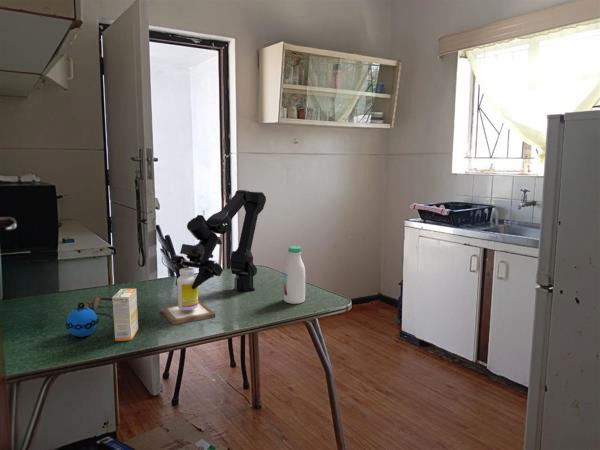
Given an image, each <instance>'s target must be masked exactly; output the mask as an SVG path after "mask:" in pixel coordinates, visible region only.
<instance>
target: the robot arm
mask: <svg viewBox="0 0 600 450" xmlns="http://www.w3.org/2000/svg"><path fill="white" fill-rule="evenodd" d="M266 202H267V197H266V195H265V194H264V192H262V191H249V190H247V189H245V190H243V189H238V190H236V191H235V193H234V195H233V196H232V197H231V198H230V199H229V201H228V202H227V203H226V204H225V205H224V207H222V209H221V210H219V211H218V212H216V213H213V214H212V215H211V216H209V217H208V218H207V219H205V217H204V215H203V214H197V216H196V217H194V218H192V219H190V220H189V221H188V222H187V224H186V229H187V230H188V231H189V232H190V234H191V235H192V236H193V237H194V238H195V239H196V240H197V241H199V242H198V243H196V244H194V245H193V244H185V243H183V244H181V248H180V251H179V254H181V255H176V254H174V255H172V256H171V258H170V259H169V262H170V263H171V264H172V265H173V266H174V267H175V268H176V276H175V277H176V279H175V286H176V287H177V279H178V278H179V277H180V273H179V270H180V269H182V268H193V269H198V273H197V275H196V276H195V277H196V279H195V281H194V283H193V285H192V289H195V288H197V287H198V288H199V286H201V285H202V284H203V283H205V282H206V281H208V280H210V279H211V278H214V277H221V276H222V273H223V268H222V266H221V265H220V264H219V263H218V262H217V260H211V259H213V258H214V254H213V253H214V250H215V248H216V246H217V245H219V246H221V245H222V240H221V239H222V238H221V236H218V235H217V234H219V235H225V234H227V232H228V231H229V230H230V227H231V226H232V220H233V218H234V217H235V215H236V214H237V213H238V212H239V211H240V210H241V209H242V207H243V209H244V212H245V213H244V218H243V223H242V228H241V233H240V238H239V242H238V246H237V248H236V249H235V251H234V250H233V251H231V253H230V259H229V266H230V267H229V268H230V271H231V274H232V275H235V277H234V279H233V280H234V281H233V282H234V283H233V284H234V287H233V289H234V290H236V291H237V292H239V293H245V292H252V291H255V290H256V288H255V287H254V277H255V276H256V275H257V272H258V268H257V267H256V265H255V264H254V256H253V254H252V245H253V241H254V237H255V230H256V226H257V222H258V221H257V220H258V216H259V215H260V214H261V212H262V211H264V208H265V204H266ZM183 255H186V256H183ZM185 257H186V258H187V259H186V258H185Z"/></svg>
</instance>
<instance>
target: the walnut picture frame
mask: <svg viewBox="0 0 600 450" xmlns="http://www.w3.org/2000/svg"><path fill="white" fill-rule="evenodd" d="M160 312H161V313H162V315H163V316H164V317H165V318H166V319H167V320H168V321H169V323H171V325H173V326H174V325H179V324H184V323H185V324H186V323H191V322H195V321H201V320H207V319H212V318H216V313H215V312H214V311H213V310H212V309H211V308H209V307H208V306H207V305H206V304H204V303H203V301H198V307H197V308H195V309H191V310H182V309H179V308H178V305H173V306H167V307H160Z"/></svg>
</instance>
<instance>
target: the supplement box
mask: <svg viewBox="0 0 600 450" xmlns="http://www.w3.org/2000/svg"><path fill="white" fill-rule="evenodd" d="M112 299H113V301H112V308H113V309H112V311H113V312H112V314H113V318H114V320H113V327H114V340H115V341H116V342H119V341H120V342H121V341H123V342H124V341H132V340H133V339H134V337H135V336H136V334H137V332H138V331H139V321H138V320H139V317H138V308H137V307H138V298H137V288H120V289H119V290H118V292H116V293H115V294H114V295H113V296H112Z"/></svg>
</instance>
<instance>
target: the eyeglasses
mask: <svg viewBox="0 0 600 450" xmlns="http://www.w3.org/2000/svg"><path fill="white" fill-rule="evenodd" d="M101 301H112V302H113V299H112V298H111V297H101V295H99V294H97V295H95V297H94V299H93V301H92V302H88V301H84V302H83V303H84V307H86V308H89V309H91V306H92V310H93V311H94V310H96V309H97V308H99V306H100V303H101ZM81 306H82V304H81V305H80V307H81ZM137 309H140V306H137ZM94 312H95V311H94ZM95 313H96V315H97V316H107V317H109V318H110V319H111V320H113V321H114V316H112V315H111V314H110V313H104V312H95Z"/></svg>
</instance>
